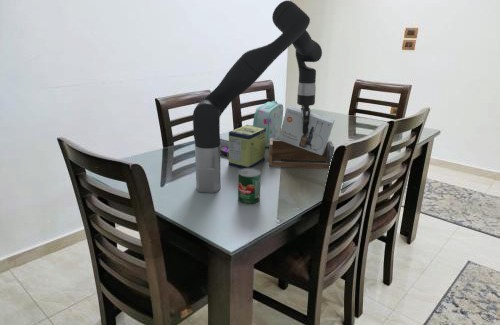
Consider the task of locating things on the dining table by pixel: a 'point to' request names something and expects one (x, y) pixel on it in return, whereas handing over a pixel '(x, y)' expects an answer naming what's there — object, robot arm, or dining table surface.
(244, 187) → the canned tomato
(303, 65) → the robot arm
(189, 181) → the dining table surface
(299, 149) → the shelf
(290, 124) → the skincare box
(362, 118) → the dining table surface
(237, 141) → the protein box
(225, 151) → the box
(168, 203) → the dining table surface
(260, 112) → the lunch box
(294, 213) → the dining table surface
